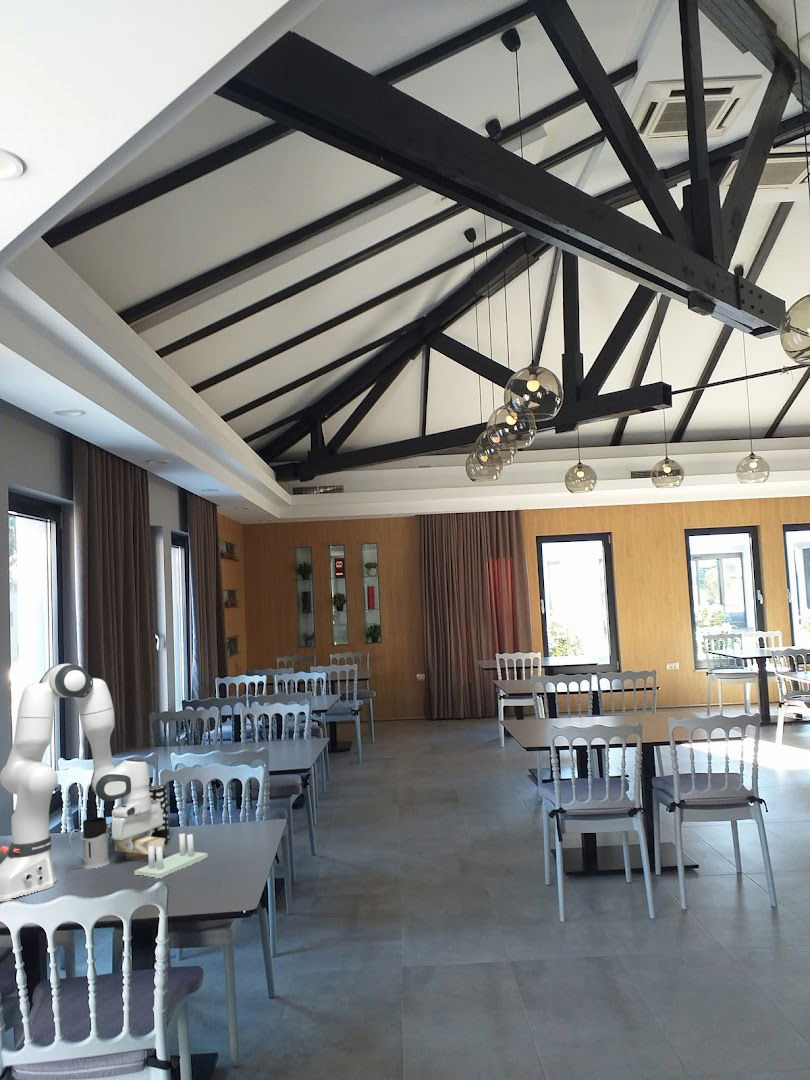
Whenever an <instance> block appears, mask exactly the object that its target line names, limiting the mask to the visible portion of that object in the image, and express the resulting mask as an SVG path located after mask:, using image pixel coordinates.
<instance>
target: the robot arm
mask: <svg viewBox="0 0 810 1080" xmlns="http://www.w3.org/2000/svg"><path fill="white" fill-rule="evenodd" d="M21 694H22V695H21V698H20V699H19V700H20V701H19V704H18V705H19V706H18V709H17V714H16V715H17V716H16V724H15V731H14V739H13V743H12V746H11V747H12V748H11V749H10V753H9V756H8V759H7V762H6V764H5V765H4V766H3V768H2V770H1V771H0V784H1V785H2V787H3V788H4V789H5V790H6V791H8V792H9V793H11V794H15V795H16V803H15V809H14V812H13V814H12V815H11V818H10V823H11V824H10V825H11V842H10V844H9V846H6V845H2V846H0V853H1V854H6V857H5V858H4V859H3V860H2V862H1V863H0V902H9V901H13V900H14V899H11V898H16V897H19V896H22V897H24V896H23V895H25V896H28V895H31V893H32V894H33V893H34V892H35V893H37V891H38V892H41V891H44V890H46V889H50V888H53V887H55V883H56V882H57V881H58V878H57V876H56V873H55V870H54V866H53V860H52V853H51V851H52V837H51V835H50V817H49V816H50V806H51V805H50V804H51V800H52V794H53V792H54V790H55V789H56V788H57V786H58V782H59V781H58V780H59V778H58V777H59V776H58V774H57V772H56V770H55V769H54V768H53V767H52V766H50V765H49V764H47V763H45V762H42V761H43V758H44V755H45V752H46V750H47V748H48V746H50V744H51V741H52V735H53V729H54V727H53V726H54V720H55V719H54V717H55V708H56V705H57V702H58V701H59V699H60V698H73V699H74V700H75V702H76V704H77V707H78V714H79V718H80V719H79V720H80V723H81V726H82V729H83V731H84V734H85V736H86V739H88V742H89V744H90V745H89V746H90V749H91V756H92V757H91V758H92V762H93V764H92V765H93V772H92V776H91V778H90V779H91V780H90V787H91V790H92V792H93V793H94V794H95V795H96V796H97V797H98V799H100V800H101V801H104V802H112V801H113V802H114V801H117V800H119V799H122V798H123V801H122V802H121V803H120V804H119V805H117V806H116V807H114V808H113V809H112V811H111V816H112V817H113V818H112V821H111V822H112V837H113V841H114V840H123V839H125V841H126V843H127V844H128V849H129V850H132V849H135V844H133V843H132V841H131V840H132V836H135V835H140V834H143V833H146V835H145V836H148V837H151V835H152V832H153V831H152V829H154V828H157V827H159V826H162V824H163V815H162V810H161V804H160V802H159V801H157V800H153V801H151V800H150V792H149V787H150V772H149V771H150V770H149V765H148V763H147V762H146V761H145V760H144V759H142V758H138V757H137V758H136V757H128V758H125V759H124V760H123V761H122V762H120V763H119V764H118V765H116V766H115V765H114V762H113V756H112V750H111V743H110V742H111V741H110V740H111V735H112V733H113V730H114V728H115V710H114V704H113V700H112V696H111V693H110V690H109V687H108V684H107V683H106V681H105V680H104V679H102V678H97V677H91V676H90V675H89V673H88V672H87V671H86V669H84V668H83V667H82V666H80V665H79V664H78V665H77V664H72V663H62V664H56V665H54V666H51V667H50V668H49V669H48V670H47V671H46V672H45V673H44V675H43V676H42V678H41V679H40V680H39V682H34V683H32V684H29V685H26V687H24V688H23V692H22V693H21ZM114 816H115V817H114ZM35 893H34V894H35ZM27 894H28V895H27ZM19 898H20V897H19ZM16 899H17V898H16Z"/></svg>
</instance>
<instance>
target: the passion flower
mask: <svg viewBox="0 0 810 1080" xmlns="http://www.w3.org/2000/svg"><path fill="white" fill-rule="evenodd" d="M114 817H115V816H113V818H114ZM106 826H107V834H108V835H109V836H108V841H112V842H111V843H114V839H113V837H112V821H110V823H106Z"/></svg>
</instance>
